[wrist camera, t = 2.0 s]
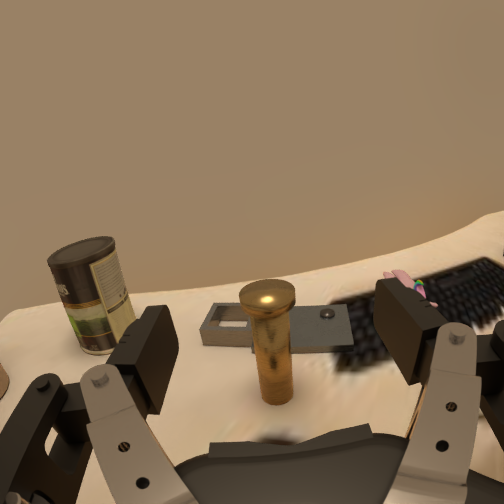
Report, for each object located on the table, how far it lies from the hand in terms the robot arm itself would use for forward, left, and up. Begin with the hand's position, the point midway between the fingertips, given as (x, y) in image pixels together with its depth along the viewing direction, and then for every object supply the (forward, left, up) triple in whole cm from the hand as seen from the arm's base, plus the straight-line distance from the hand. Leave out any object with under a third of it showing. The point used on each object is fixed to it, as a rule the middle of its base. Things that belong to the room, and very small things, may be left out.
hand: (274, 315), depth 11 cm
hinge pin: (-2, +11, -17) cm, 20 cm away
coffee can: (-28, +19, -17) cm, 38 cm away
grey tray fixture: (-3, +22, -17) cm, 28 cm away
